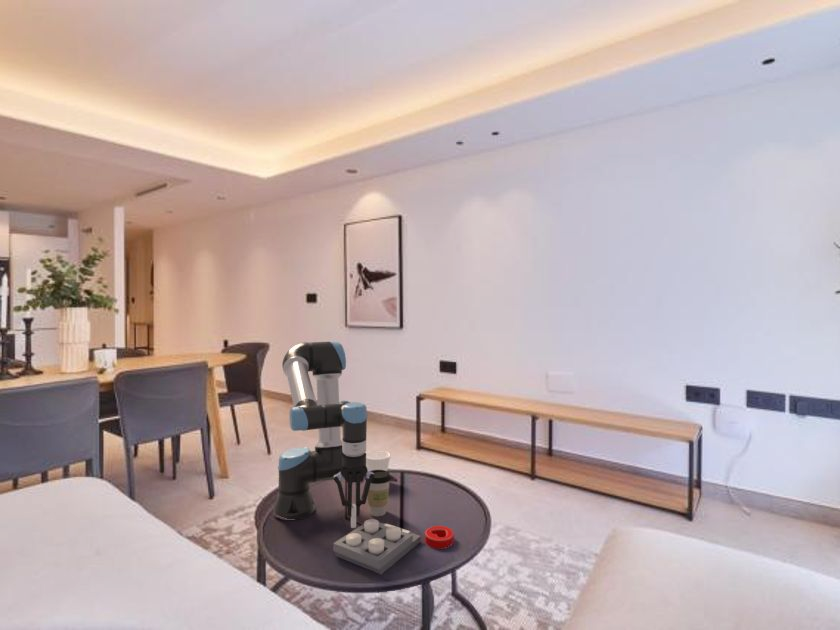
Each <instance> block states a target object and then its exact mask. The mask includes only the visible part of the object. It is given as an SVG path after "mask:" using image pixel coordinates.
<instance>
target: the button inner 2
mask: <svg viewBox="0 0 840 630" xmlns="http://www.w3.org/2000/svg"><path fill="white" fill-rule="evenodd" d="M379 522H380V521H379V520H377V519H376V518H375V519H374V518H370V519H367V520H365V521H364V522H363V524H364V532H366V533H368V534H371V535H374V534H375V533H377V532H378V531H379Z"/></svg>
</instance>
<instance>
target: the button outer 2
mask: <svg viewBox="0 0 840 630" xmlns="http://www.w3.org/2000/svg"><path fill="white" fill-rule="evenodd" d="M400 528H401V527H399V526H395V525H392V526H391V527H388V528H387V529H386V540H388V541H391V542H394V543H396V542H397V541H399V540H400V539H401V529H400Z"/></svg>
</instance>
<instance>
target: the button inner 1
mask: <svg viewBox="0 0 840 630" xmlns="http://www.w3.org/2000/svg"><path fill="white" fill-rule="evenodd" d="M348 534H349V533H348ZM346 535H347V534H346ZM346 535H345V536H346ZM346 544H347V545H350V546H352V547H356V546H358V545H359V544H361V535H360V534H357V533H352V534H349V535H347V536H346Z"/></svg>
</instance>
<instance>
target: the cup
mask: <svg viewBox="0 0 840 630" xmlns="http://www.w3.org/2000/svg"><path fill="white" fill-rule="evenodd" d="M365 453H366V467H367V469H368V471H372V470H385V471H388V469H389V464H390V459H391V453H390V452H389V451H386V450H371V451H366V452H365Z"/></svg>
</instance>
